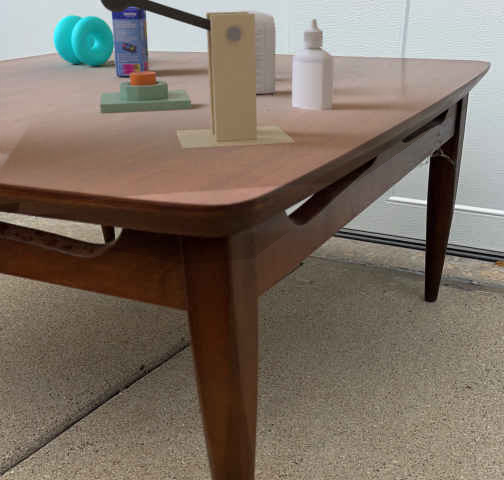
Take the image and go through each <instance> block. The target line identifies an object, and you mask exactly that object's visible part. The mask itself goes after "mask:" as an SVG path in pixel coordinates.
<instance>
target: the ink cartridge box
mask: <svg viewBox="0 0 504 480" xmlns="http://www.w3.org/2000/svg"><path fill="white" fill-rule="evenodd" d="M111 22H112V23H111V24H112V33H113V39H114V48H113V53H114V63H115V64H114V65H115V75H116V77H119V78H121V77H122V78H123V77H124V78H126V77H129V78H130V73H132V72H140V71H150V68H149V67H150V65H149V43H148V27H147V26H148V25H147V24H148V23H147V11H146V10H143V9H140V8H137V7H134V6H130V5H129V7H128V8H127V9H126V10H124V11H122V12H112V11H111Z"/></svg>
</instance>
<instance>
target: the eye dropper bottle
mask: <svg viewBox="0 0 504 480" xmlns="http://www.w3.org/2000/svg"><path fill="white" fill-rule="evenodd" d="M323 35H324V33H323V30H322V29H320V28H319V27H318V22H317V19H316V18H311V19H310V21H309V26H308V28H307V29H306V30H304V31H303V49H302V50H299V51H297V52H295V54H294V55H293V57H292V69H291V70H292V71H291V72H292V73H291V76H292V77H291V78H292V79H291V81H292V82H291V83H292V84H291V106H292V107H294V108H297V109H304V110H311V111H326V110H332V109H333V97H334V96H333V95H334V94H333V92H334V58H333V55H332V54H330V53H329V52H328V51H326V50H324V49H323V43H324V42H323V41H324V39H323V38H324V37H323Z"/></svg>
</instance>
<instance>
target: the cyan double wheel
mask: <svg viewBox="0 0 504 480" xmlns="http://www.w3.org/2000/svg"><path fill="white" fill-rule="evenodd" d="M53 45H54V48H55V50H56V52H57V54H58V56H59V57H60V58H61V59H63V60H64V61H65V62H67V63H69V64H72V65H80V64H84V65H87V66H90V67H98V66H102V65H103V64H106V63H107V62H108V61H109V59H110V58H111V56H112V54H113V53H114V39H113V30H112V29H111V27H110V26H109V24H108V23H107V22H106V21H105V20H104V19H102V18H100V17H98V16H95V15H87V16H84V17H82V16H79V15H75V14H74V15H73V14H72V15H71V14H70V15H67V16H64V17H63V18H61V19H60V20H59V21H58V22H57V24H56V25H55V28H54V31H53Z"/></svg>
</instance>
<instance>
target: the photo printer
mask: <svg viewBox="0 0 504 480" xmlns="http://www.w3.org/2000/svg"><path fill="white" fill-rule="evenodd" d="M231 12H248V13H253V14H255V59H256V95H273V94H275V92H276V42H277V41H276V40H277V39H276V38H277V37H276V22H275V18H274V16H273V15H271V14H267V13H264V12H261V11H255V10H233V11H231Z"/></svg>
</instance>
